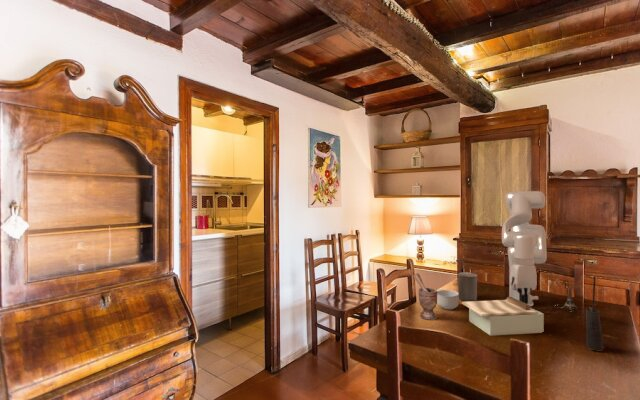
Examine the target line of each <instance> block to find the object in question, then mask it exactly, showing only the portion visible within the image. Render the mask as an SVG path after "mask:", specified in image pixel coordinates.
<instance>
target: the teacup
mask: <svg viewBox="0 0 640 400" xmlns="http://www.w3.org/2000/svg"><path fill="white" fill-rule="evenodd" d="M459 301H460V299H459V293H458V291H455V290H453V289H452V290H451V289H443V288H442V289H438V290H437V305H438V306H439V307H440V308H442V309H444V310H448V311H449V310H454V309H456V308H457V307H458V306H459Z"/></svg>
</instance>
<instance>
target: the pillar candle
mask: <svg viewBox="0 0 640 400" xmlns="http://www.w3.org/2000/svg"><path fill="white" fill-rule="evenodd" d="M457 279H458V281H457V282H458V283H457V285H458V286H457V289H458V291H457V292H458V293H459V300H461V301H463V302H469V301H478V274H476V273H472V272H467V271H466V272H458V278H457Z"/></svg>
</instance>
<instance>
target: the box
mask: <svg viewBox="0 0 640 400" xmlns="http://www.w3.org/2000/svg"><path fill="white" fill-rule="evenodd" d="M468 309H469V310H468V321H469V322H470V323H471V324H473V325H474V326H476V327H477V328H479V329H480V330H482V331H483V332H484V333H485V334H487V335H489V336H490V337H491V336H508V335H524V334H540V333H541V334H543V333H542V332H544V331H545V330H544V327H545V326H544V325H545V321H544V320H545V318H544V317H545V314H544V313H542V312H541V311H540V310H539V311H538V310H536V309H534V308H532V307H530V309H531V310H533V311H536V314H516V315H496V316H481V315H479V314H478V313H476V312H475V311H473V310H471V309H470V308H468ZM544 333H545V332H544Z"/></svg>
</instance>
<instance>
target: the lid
mask: <svg viewBox="0 0 640 400" xmlns="http://www.w3.org/2000/svg"><path fill="white" fill-rule="evenodd" d="M506 299H507V300H506ZM506 299H496V300H495V299H493V300H476V301H461V304H462V305H463V306H465V307H467V308H468V309H469V308H470V309H471V310H473V311H475V312H476V313H478V314H479V315H481V316H496V315H516V314H536V311H533V310H531V309H530V308H531V306H530V305H528V304H526V303H524V302H522V301H519V300H517V299H515V298H513V297H509V296H507V297H506Z"/></svg>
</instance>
